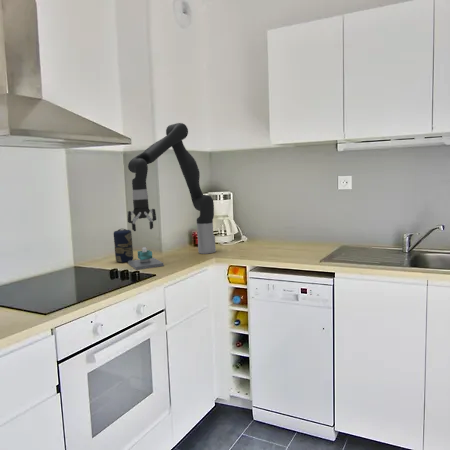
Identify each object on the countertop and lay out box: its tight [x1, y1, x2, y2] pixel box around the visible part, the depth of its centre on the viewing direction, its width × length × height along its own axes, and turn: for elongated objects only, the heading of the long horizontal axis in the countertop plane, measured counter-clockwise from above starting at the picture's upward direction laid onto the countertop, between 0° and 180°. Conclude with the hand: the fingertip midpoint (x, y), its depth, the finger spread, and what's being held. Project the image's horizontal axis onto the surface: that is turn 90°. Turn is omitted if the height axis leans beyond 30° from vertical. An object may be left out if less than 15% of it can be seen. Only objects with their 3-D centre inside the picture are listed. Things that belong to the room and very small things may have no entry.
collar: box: [137, 249, 153, 260], centre depth 217 cm, size 6×6×4 cm
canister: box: [113, 228, 134, 263], centre depth 229 cm, size 10×10×18 cm
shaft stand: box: [127, 246, 165, 271], centre depth 217 cm, size 14×18×9 cm
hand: (142, 230), depth 216 cm, fingers open, 8 cm apart
